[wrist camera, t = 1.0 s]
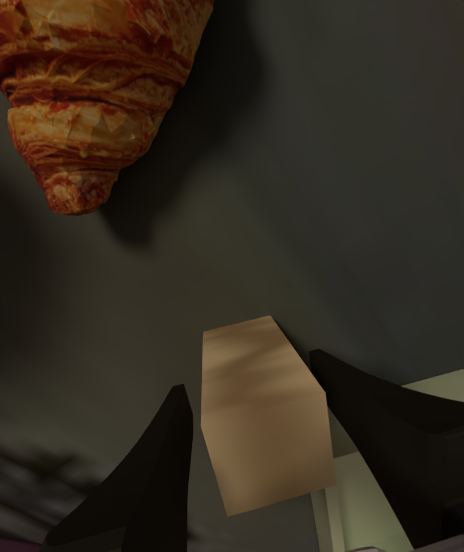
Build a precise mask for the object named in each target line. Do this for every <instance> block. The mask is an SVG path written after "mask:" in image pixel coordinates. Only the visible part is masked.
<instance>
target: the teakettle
mask: <svg viewBox="0 0 464 552" xmlns="http://www.w3.org/2000/svg"><path fill="white" fill-rule="evenodd" d="M40 547H41V544H37V543H32V542H27V541H23V540H18V539H13V538H7V537H1V536H0V552H38V550H39V548H40Z"/></svg>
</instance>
